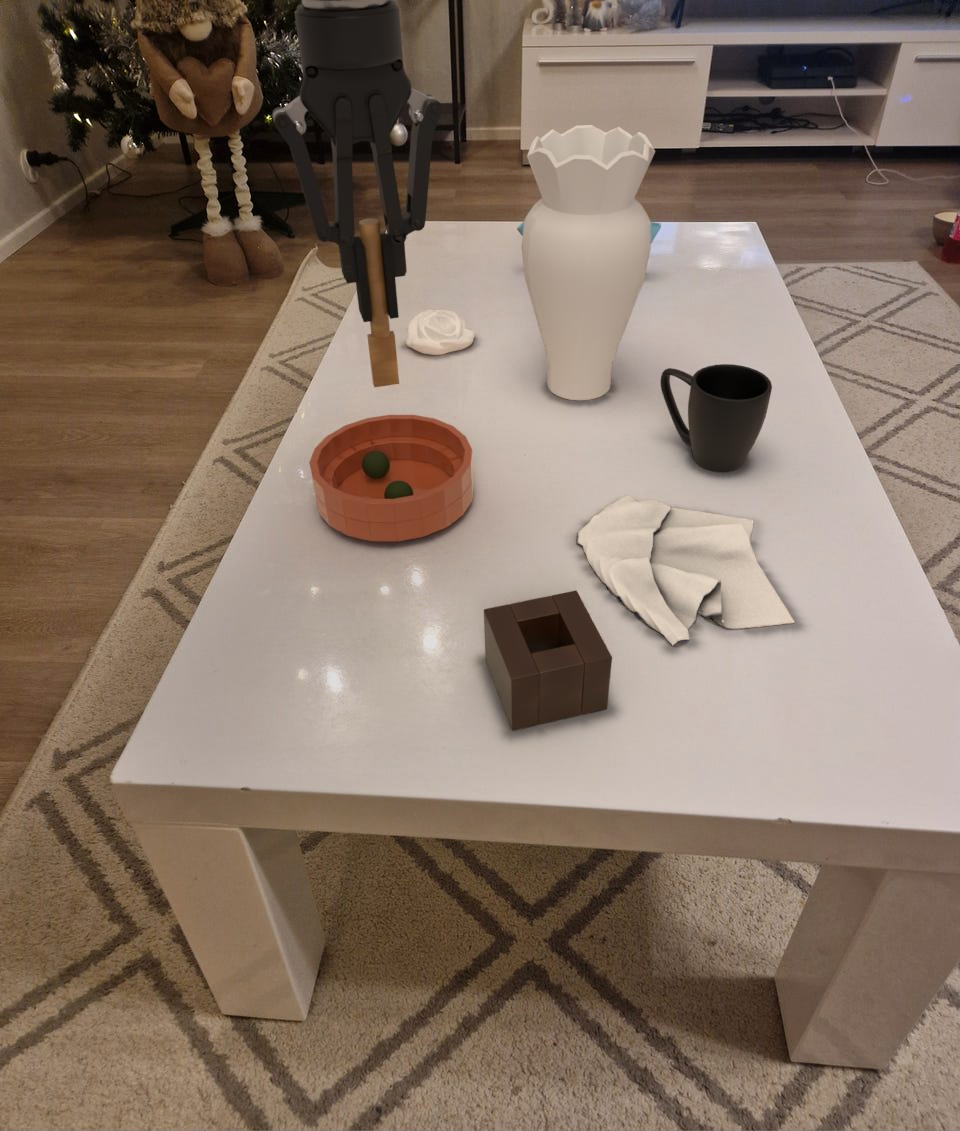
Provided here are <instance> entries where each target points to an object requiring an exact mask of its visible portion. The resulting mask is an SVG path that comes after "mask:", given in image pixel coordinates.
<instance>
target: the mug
mask: <svg viewBox="0 0 960 1131" xmlns="http://www.w3.org/2000/svg"><path fill="white" fill-rule="evenodd" d="M671 376H672V377H675V378H677V379H679V380H680V381H683V382H684V383H685V384H687V385H688V386H689V387H690V389H689V396H688V402H687V421H688V422H687V423H688V427H687V425H686V424H685V421H684V420H683V417H682V415H681V413H680V410H679V407H678V405H677V403H676V399H675V397H674V394H673V391H672V387H671ZM660 390H661V394H662V396H663V399H664V402H665V406H666V407H667V410H668V413H669V415H670V418H671V421H672V423H673V425H674V427H675V429H676V430H675V431H676V432H677V434H678V436H679V437H680V440H682V442H683V443H684V444H685V445H686V446H687V447H689V448H690V449H691V450H692V456H693V457H692V458H693V461H694V462H695V463H696V464H697V465H698V466H699V467H701V468H703V469H705V470H708V471H711V472H716V473H717V472H718V473H729V472H733V471H735V470H738V469H740V468H741V467H742V466H743V465H744V462H746V459H747V457H748V455H749V453H750V452H751V450H752V448H753V447H754V445H755V443H756V441H757V440H758V437H759V436H760V433H761V431H762V429H763V425H764V422H765V420H766V416H767V413H768V408H769V404H770V399H771V395H772V390H773V384H772V381H771V380H770V378H769V377H768V376H767V375H766V374H764V373H763V372H761V371H759V370H758V369H755V368H751V367H749V366H745V365H739V364H729V363H723V364H713V365H708V366H705V367H701V368H700V369H698V370H697V371H696V372H695V373H694V374H693V375H691V374H690V373H687V372H686V371H683V370H680V369H677V368H671V367H669V368H666V369H664V370H662V373H661V376H660Z"/></svg>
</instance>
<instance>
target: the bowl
mask: <svg viewBox="0 0 960 1131" xmlns="http://www.w3.org/2000/svg"><path fill="white" fill-rule="evenodd" d="M371 451H380V452H382V453H384V454H385V455H386V456H387V457H388V459H389V462H390V467H389V471H388V472H387V474H386V475H385V476H383V477H381V478H377V479H375V478H371V477H369V476H367V475H366V474H365V473H364V471H363V468H362V460H363V458H364V456H365V455H366V454H367V453H369V452H371ZM308 464H309V469H310V474H311V480H312V485H313V489H314V495H315V496H314V497H315V501H316V505H317V506H316V507H317V511H318V514H319V515H320V517H322V519H323V520H324V521H325V523H327V525H328V526H329V527H330V528H332V529H333V530H336V531H338V532H340V533H341V534H344V535H345V536H348V537H350V538H351V537H352V538H356V539H359V540H360V539H361V540H365V541H368V542H402V541H403V542H404V541H409V540H413V539H414V540H415V539H420V538H423V537H426V536H429V535H431V534H433V533H436V532H439V531H441V530H444V529H446V528H448V527H449V526H450V525H452V524H453V523H454V522H456V521H457V520H458V519H460V518H461V517H462V516H463V515H465V513H466V511H467V510H468V508H469V507H470V505H471V504H472V502H473V501H474V500H473V498H474V490H475V478H474V455H473V448H472V446H471V443H470V442H469V440H468V438H467V436H466V435H465V434H464V433H462V432H461V431H460V430H459V429H457V428H456V426H454V425H452V424H450V423H446V422H445V421H442V420H439V419H437V418H434V417H428V416H422V415H417V414H385V415H379V416H372V417H368V418H367V417H366V418H364V419H361V420H357V421H355V422H351V423H348V424H346V425H343V426H341V427H340V428H338V429H336V430H334V431H333V432H331V433H330V434H327V435H326V436H325V437H324V438H323V439H322V440H321V441H320V442H319V443H318V444H317V445H316V446H315V448H314V449H313V451H312V454H311V457H310V460H309V463H308ZM398 480H400V481H404V482H406V483H408V484H409V485H410V486H411V488H412V490H413V495H412V496H406V497H401V498H395V499H385V497H384V492H385V489H386V487H387V486H388V485H389V484H390V483H391V482H393V481H398Z"/></svg>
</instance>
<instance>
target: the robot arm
mask: <svg viewBox="0 0 960 1131" xmlns="http://www.w3.org/2000/svg"><path fill="white" fill-rule="evenodd" d="M293 12H294V19H295V26H296V33H297V40H298V48H299V57H300V62H301V77H300V78H301V79H300V81H299V84H298V89H297V90H298V96H297V97H295V98H294V99H293V100H292V101H290V102H289V103H287V104H286V105H285V106H283V107H281V106H278V107H275V108H274V109H273V110H272V112H271V117H272V120H273V124H274V126H275V129H276V130H277V131H278V132H279V134H280V135H281V137H282V138H283V140H284V141H285V142H286V144H287V145H288V147H289V149H290V153H291V156H292V159H293V163H294V166H295V169H296V172H297V176H298V179H299V182H300V186H301V189H302V192H303V195H304V199H305V202H306V205H307V209H308V212H309V215H310V218H311V222H312V225H313V227H314V231H315V234H316V237H317V238H318V240H319V241H321V242H324V243H326V242H331V243H334V244H336V245H337V246H338V252H339V261H340V268H341V274H342V276H343V278H344V280H345V282H346V284H353V283H355V287H356V296H357V305H358V311H359V313H360V316H361V319H362V321H363V323H370V321H372V314H371V305H370V295H369V286H368V277H367V268H366V259H365V250H364V245H363V243H362V242H361V238H360V235H358V236H356V235H355V212H354V211H355V209H354V208H355V207H354V181H353V180H354V179H353V157H354V155H353V152H354V151H353V145H354V144H358V143H360V142H363V141H364V142H368V143H370V148H371V152H372V157H373V158H372V159H373V163H374V169H375V175H376V180H377V187H378V192H379V197H380V203H381V208H382V214H383V221H384V225H385V229H386V232H384V233H380V234H381V246H382V256H383V266H384V277H385V287H386V297H387V307H388V315H389V320H391V319H392V320H393V319H399V316H400V315H399V304H398V295H397V294H398V293H397V283H396V282H397V281H396V278H401V277H405V276H406V274H407V270H408V269H407V258H406V245H405V242H406V240H407V236H408V235H410V234H411V233H414V232H421V231H422V230H424V228H425V226H426V220H427V219H426V218H427V206H428V197H429V196H428V194H429V185H430V184H429V183H430V171H431V160H432V148H433V137H434V136H433V135H434V132H435V130H436V128H437V126H438V123H439V121H440V118H441V116H442V113H443V105H442V103H441V102H440V101H439V100H438V99H437V98H436V97H435V96H433V95H432V94H429V93H428V94H424V93H423V92H421V91H419V90H417V89H415V88H413V86H412V83H411V80H410V78H409V76H408V75H407V73H406V70H405V67H404V58H403V42H402V30H401V28H402V27H401V16H400V7H399V5H397V2H396V1H395V0H301V4H298V5H297V6H296V10H294V11H293ZM407 104H408V117H409V118H410V120H411V121H412V125H411V131H410V145H409V157H408V170H407V172H408V173H407V186H406V200H405V212H403V213H402V208H401V202H400V196H399V189H398V184H397V182H398V181H397V176H396V170H395V165H394V159H393V147H392V146H393V145H392V140H391V133H392V131H393V129H394V127H395V126H396V124H397V122H398V120H399V119H400V116H401V114H402V112H403V111H404V109H405V107H406V105H407ZM307 112H308V113H309V114H310V115H311V117H312V118H313V119H314V120H315V121H316V123H317V124H318V125H319V126H320V127H321V128H322V129H323V130H324V132H325V133H326V134H327V135H328V137H329V138H330V143H331V144H330V145H331V154H332V173H333V195H334V196H333V197H334V214H335V215H334V218H335V221H331V220H329V219H328V215H327V211H326V208H325V205H324V201H323V198H322V195H321V192H320V187H319V184H318V180H317V178H316V175H315V171H314V167H313V164H312V160H311V158H310V157H311V156H310V153H309V150H308V148H307V144H306V142H305V139H304V137H303V135H304V134H305V133H306V131H307V127H308V125H307V123H306V120H305V118H306V117H305V116H306V114H307Z"/></svg>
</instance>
